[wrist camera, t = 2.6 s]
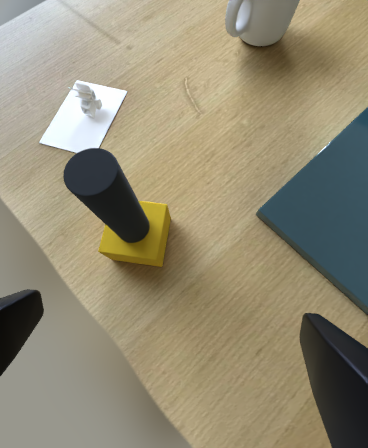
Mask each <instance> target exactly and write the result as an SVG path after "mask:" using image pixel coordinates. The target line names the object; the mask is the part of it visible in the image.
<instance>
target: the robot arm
mask: <svg viewBox="0 0 368 448" xmlns="http://www.w3.org/2000/svg"><path fill="white" fill-rule="evenodd" d="M43 312H44V309H43V303H42V298H41V294H40V292H39V291H38V290H30V289H27V290H23V291H20V292H17V293H14V294H12V295H9V296H6V297H3V298H0V376H1V375H2V374H3V372H4V371H5V370H6V368H7V367H8V366H9V365H10V363H11V362H12V361H13V359H14V358H15V357H16V355H17V354H18V352H19V351H20V350H21V348H22V346H23V345H24V343H25V342H26V340H27V339H28V337H29V336H30V334H31V333H32V331H33V330H34V328H35V327H36V325H37V324H38V322H39V321H40V319H41V317H42V316H43ZM300 344H301V348H302V352H303V356H304V360H305V364H306V368H307V372H308V376H309V380H310V384H311V388H312V392H313V395H314V398H315V401H316V404H317V407H318V410H319V413H320V415H321V418H322V421H323V424H324V427H325V429H326V432H327V435H328V438H329V440H330V443H331V446H332V448H368V348H366V347H365V346H364V345H362V344H361V343H359V342H358V341H356V340H355V339H354V338H352V337H351V336H349V335H348V334H346V333H345V332H344V331H342V330H341V329H339V328H338V327H337V326H335V325H334V324H332V323H331V322H329V321H328V320H327V319H325V318H324V317H322V316H321V315H319V314H313V313H305V314H304V315H303V318H302V324H301V330H300Z"/></svg>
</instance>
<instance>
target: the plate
mask: <svg viewBox="0 0 368 448" xmlns="http://www.w3.org/2000/svg"><path fill="white" fill-rule="evenodd" d="M256 215H257V216H258V217H259V218H260V219H261V220H262V221H264V222H265V223H266V224H267V225H268V226H269V227H270V228H271V229H273V230H274V231H275V232H276V233H277V234H278V235H279V236H280V237H281V238H283V239H284V240H285V241H286V242H287V243H288V244H289V245H290V246H291V247H293V248H294V249H295V250H296V251H297V252H298V253H299V254H300V255H302V256H303V257H304V258H305V259H306V260H307V261H308V262H309V263H310V264H312V265H313V266H314V267H315V268H316V269H317V270H318V271H319V272H320V273H322V274H323V275H324V276H325V277H326V278H327V279H328V280H329V281H331V282H332V283H333V284H334V285H335V286H336V287H337V288H338V289H339V290H341V291H342V292H343V293H344V294H345V295H346V296H347V297H348V298H349V299H351V300H352V301H353V302H354V303H355V304H356V305H357V306H358V307H360V308H361V309H362V310H363V311H364V312H365V313H366V314H367V315H368V107H367V108H366V109H365V110H364V111H363V112H362V113H361V114H360V115H359V116H357V117H356V118H355V119H354V120H353V121H352V122H351V123H350V124H349V125H348V126H347V127H346V128H345V129H344V130H343V131H342V132H340V133H339V134H338V135H337V136H336V137H335V138H334V139H333V140H332V141H331V142H330V143H329V144H328V145H327V146H326V147H325V148H323V149H322V150H321V151H320V152H319V153H318V154H317V155H316V156H315V157H314V158H313V159H312V160H311V161H310V162H309V163H308V164H306V165H305V166H304V167H303V168H302V169H301V170H300V171H299V172H298V173H297V174H296V175H295V176H294V177H293V178H292V179H291V180H289V181H288V182H287V183H286V184H285V185H284V186H283V187H282V188H281V189H280V190H279V191H278V192H277V193H276V194H275V195H274V196H272V197H271V198H270V199H269V200H268V201H267V202H266V203H265V204H264V205H263V206H262V207H261V208H260V209H259V210H258V211H257V213H256Z"/></svg>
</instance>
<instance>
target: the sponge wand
mask: <svg viewBox="0 0 368 448" xmlns="http://www.w3.org/2000/svg"><path fill="white" fill-rule="evenodd" d="M64 182H65V185H66V187H67V188H68V189H69V190H70V191H71V192H72V193H73V194H74V195H75V196H76V197H77V198H78V199H79V200H80V201H81V202H83V203H84V204H85V205H86V206H87V207H88V208H89V209H90V210H91V211H92V212H93V213H94V214H95V215H96V216H97V217H98V218H100V219H101V220H102V221H103V222H104V223H105V228H104V232H103V236H102V239H101V243H100V247H99V250H98V252H100V253H101V254H103V255H105V256H106V257H108V258H110V259H112V260H117V261H124V262H131V263H138V264H145V265H152V266H158V267H162V265H163V260H164V254H165V249H166V243H167V237H168V232H169V226H170V221H171V217H170V214H169V210H168V206H167V204H160V203H152V202H144V201H138V199H137V198H136V196H135V194H134V192H133V190H132V188H131V186H130V184H129V182H128V181H127V179H126V177H125V175H124V173H123V171H122V169H121V167H120V165H119V164H118V162H117V160H116V158H115V157H114V156H113V155H112V154H111V153H110V152H108V151H106V150H104V149H100V148H89V149H85V150H83V151H80V152H78V153H77V154H75V155H74V156H73V157H72V158H71V159H70V160H69V161H68V163H67V165H66V167H65V169H64Z"/></svg>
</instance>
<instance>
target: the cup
mask: <svg viewBox="0 0 368 448" xmlns="http://www.w3.org/2000/svg"><path fill="white" fill-rule="evenodd" d="M299 1H300V0H229V2H228V6H227V10H226V18H225V24H226V30H227V32H228V34H229V35H231V36H232V37H238V36H240V38H241V39H242V40H243V41H245V42H246V43H248V44H251V45H254V46H267V45H271V44H273V43H275V42H277V41H278V40H279V39H281V37H282V36H283V35H284V34H285V32H286V30H287V28H288V26H289V24H290V22H291V20H292V17H293V15H294V13H295V10H296V8H297V6H298V3H299Z"/></svg>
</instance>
